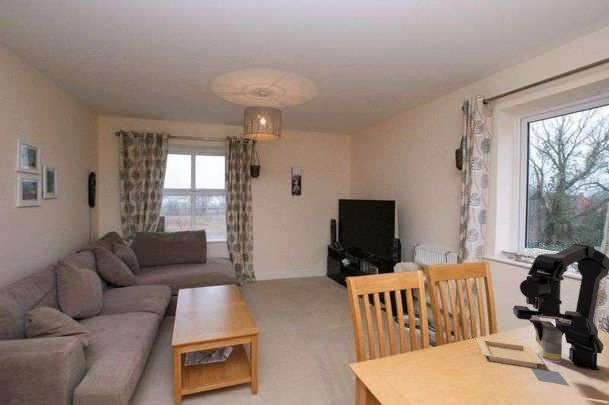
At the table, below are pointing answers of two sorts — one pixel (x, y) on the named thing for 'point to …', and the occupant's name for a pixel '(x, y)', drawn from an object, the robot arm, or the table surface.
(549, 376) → the coaster
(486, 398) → the table surface
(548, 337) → the box
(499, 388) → the table surface
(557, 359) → the supplement bottle
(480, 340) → the tray
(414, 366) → the table surface
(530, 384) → the table surface
